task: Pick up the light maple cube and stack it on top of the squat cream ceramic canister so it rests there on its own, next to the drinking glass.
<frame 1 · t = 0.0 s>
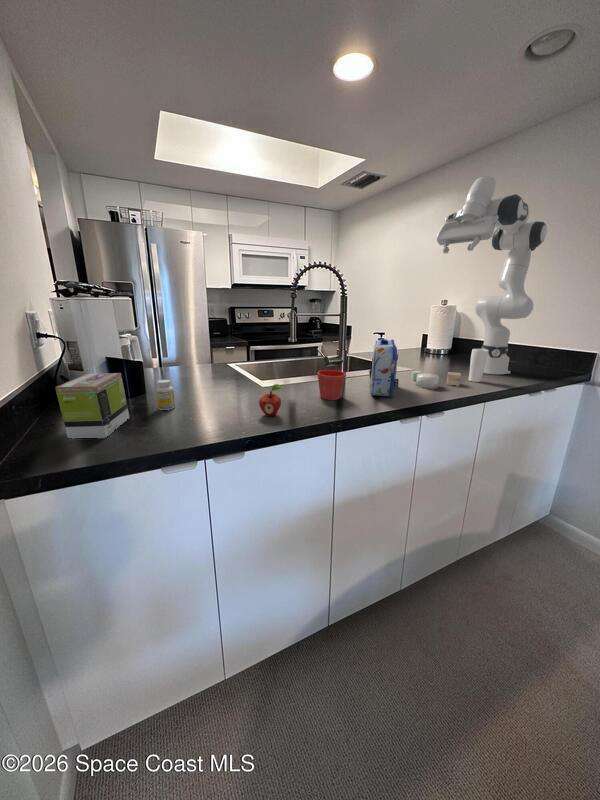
hand: (457, 251, 121), 54 cm above the counter, tool tilted 30°, fingers open, 8 cm apart
apple: (271, 415, 103), on the counter
sage block: (415, 379, 152), on the counter
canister: (426, 386, 140), on the counter
drinking glass: (474, 381, 151), on the counter
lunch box: (381, 391, 131), on the counter
flower pot: (330, 397, 123), on the counter
maple cube: (452, 384, 144), on the counter
supplement bottle: (167, 409, 108), on the counter
tea box: (101, 429, 90), on the counter
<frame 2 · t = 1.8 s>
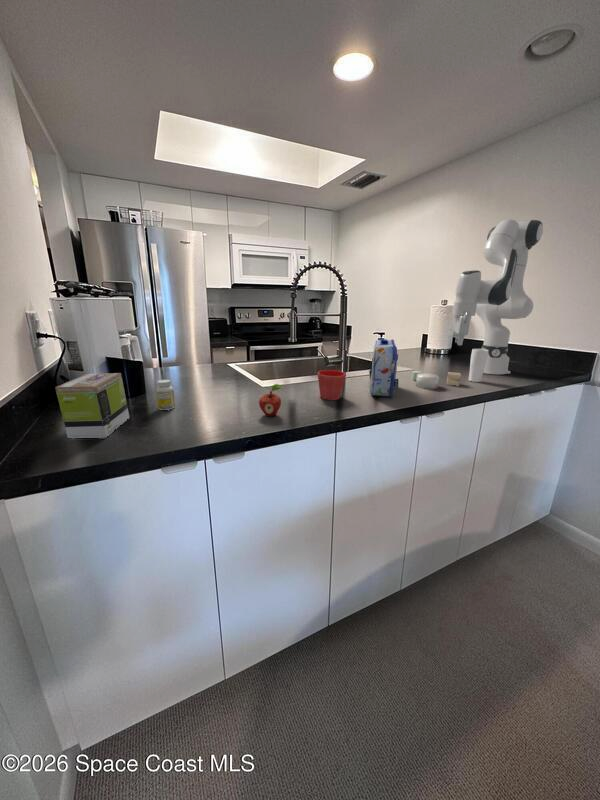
hand: (458, 344, 138), 18 cm above the counter, tool pointing down, fingers open, 8 cm apart
nothing on the counter moved.
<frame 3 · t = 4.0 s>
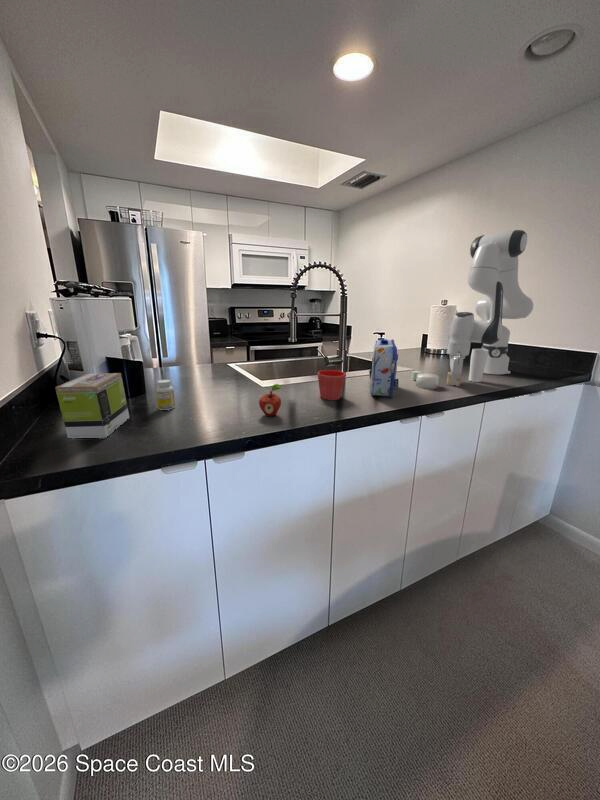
hand: (453, 380, 144), 2 cm above the counter, tool pointing down, fingers closed on maple cube, 5 cm apart
maple cube: (452, 384, 144), on the counter, touching gripper
everything else where it was.
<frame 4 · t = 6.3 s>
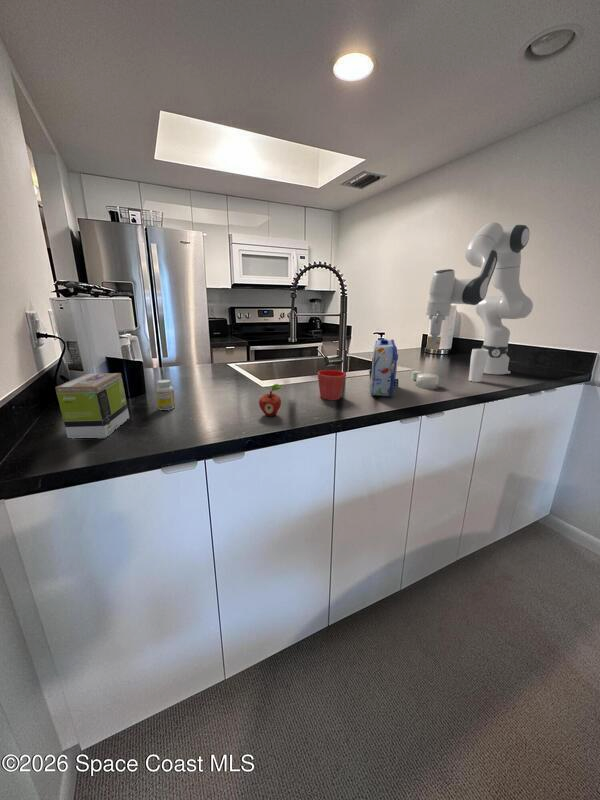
hand: (433, 344, 135), 18 cm above the counter, tool pointing down, fingers closed on maple cube, 5 cm apart
maple cube: (432, 348, 135), point 17 cm above the counter, touching gripper
everything else where it was.
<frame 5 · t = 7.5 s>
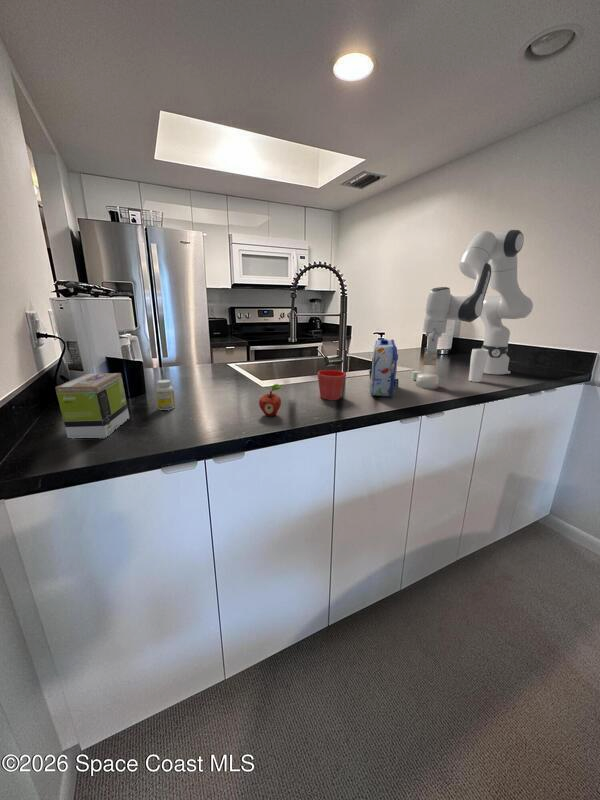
hand: (429, 360, 137), 11 cm above the counter, tool pointing down, fingers closed on maple cube, 5 cm apart
maple cube: (429, 364, 137), point 10 cm above the counter, touching gripper
everything else where it was.
when the fingers open (7 cm above the counter, at t = 8.6 s): maple cube stays where it is, resting on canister.
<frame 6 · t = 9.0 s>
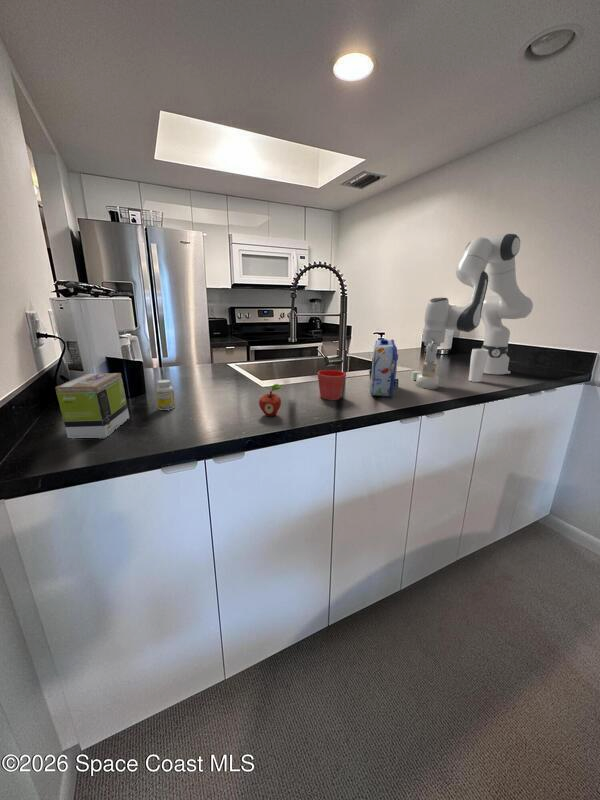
hand: (428, 369, 138), 7 cm above the counter, tool pointing down, fingers open, 8 cm apart
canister: (426, 386, 140), on the counter, touching maple cube
maple cube: (428, 375, 139), point 5 cm above the counter, touching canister
everything else where it was.
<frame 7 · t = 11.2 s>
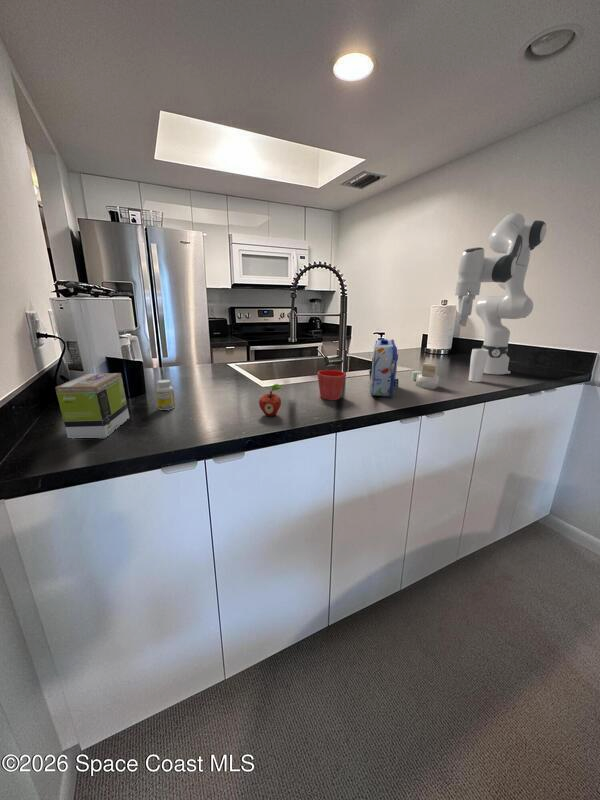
hand: (462, 325, 135), 26 cm above the counter, tool pointing down, fingers open, 8 cm apart
nothing on the counter moved.
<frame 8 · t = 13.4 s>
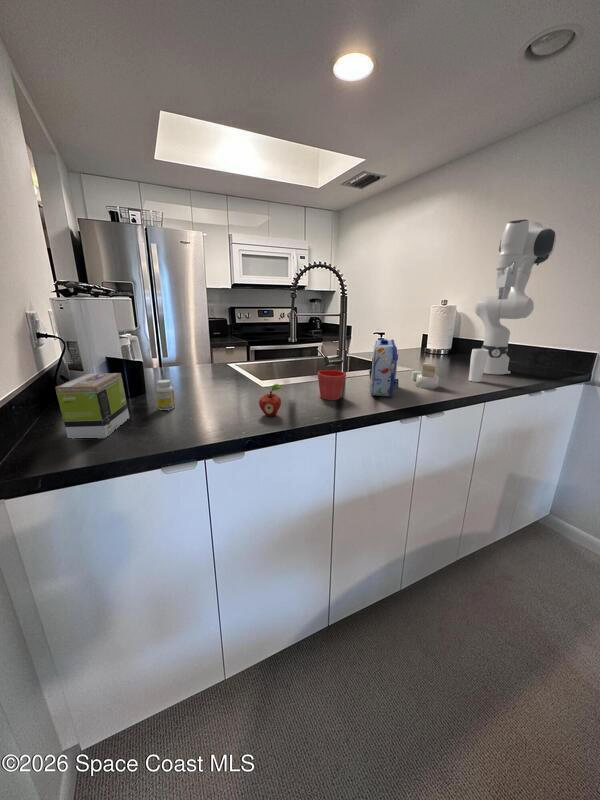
hand: (502, 299, 133), 37 cm above the counter, tool pointing down, fingers open, 8 cm apart
nothing on the counter moved.
at the end: maple cube 0.1 cm off-centre on the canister, point 5.0 cm above the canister's base; maple cube tilted 0°; the gripper is holding nothing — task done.
